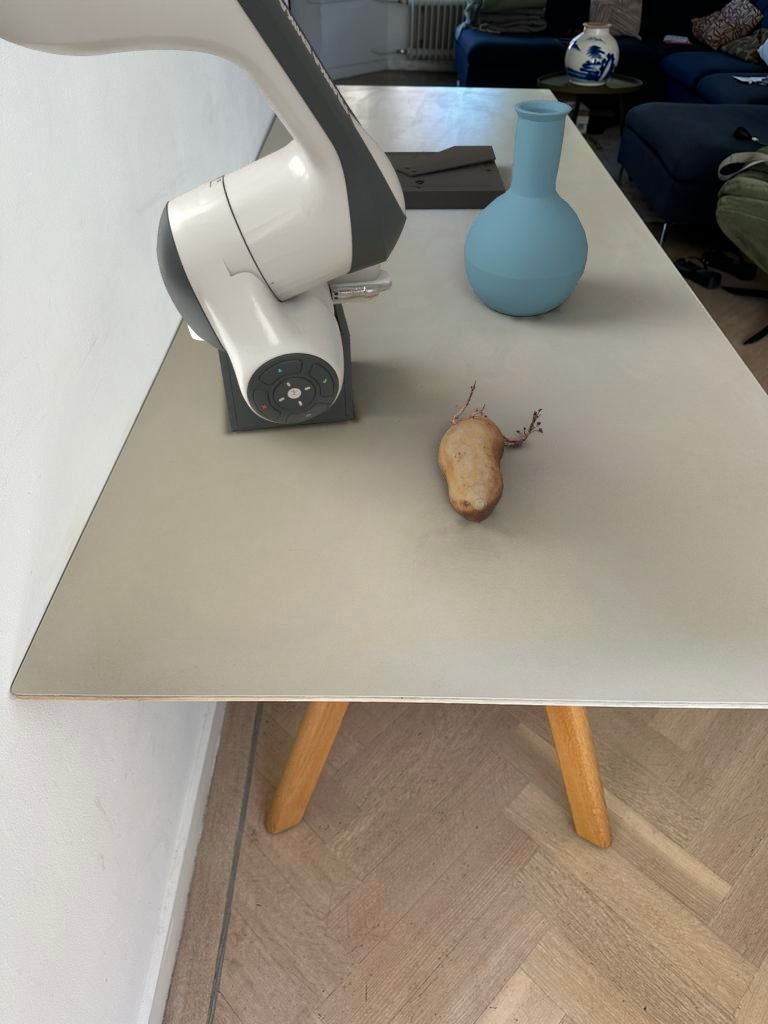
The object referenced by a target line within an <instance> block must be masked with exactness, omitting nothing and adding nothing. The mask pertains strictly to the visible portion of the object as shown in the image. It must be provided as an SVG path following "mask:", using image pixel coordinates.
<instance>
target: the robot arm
mask: <svg viewBox="0 0 768 1024" xmlns="http://www.w3.org/2000/svg"><path fill="white" fill-rule="evenodd" d="M0 39H1V40H4V41H6V42H8V43H12V44H14V45H16V46H20V47H23V48H26V49H29V50H33V51H37V52H41V53H46V54H51V55H57V56H58V55H59V56H71V57H94V56H95V57H96V56H103V55H104V56H105V55H111V54H120V53H129V52H130V53H131V52H141V51H142V52H143V51H185V52H195V53H196V52H197V53H203V54H209V55H213V56H216V57H219V58H221V59H224V60H226V61H228V62H230V63H231V64H234V65H235V66H237V67H238V68H239V69H241V70H242V72H243V73H244V74H246V76H247V77H248V78H249V79H250V81H251V82H252V84H253V85H254V86H255V88H256V89H257V90H258V91H259V93H260V95H261V96H262V97H263V99H264V100H265V101H266V102H267V104H268V105H269V107H270V108H271V109H272V111H273V112H274V114H275V115H276V117H277V118H278V119H279V121H280V122H281V123H282V125H283V126H284V128H285V130H286V131H287V132H288V134H290V136H291V137H292V140H291V141H290V142H289V143H288V144H286V145H284V146H283V147H282V148H280V149H278V150H275V151H274V152H273V151H272V152H271V153H269V154H267V155H265V156H263V157H260V158H259V159H256V160H254V161H253V162H250V163H247V164H246V165H243V166H242V167H240V168H237V169H236V170H233V171H231V172H229V173H227V174H222V175H220V176H217V177H216V178H213V179H211V180H209V181H207V182H205V183H203V184H201V185H199V186H196V187H195V188H193V189H191V190H189V191H186V192H185V193H183V194H181V195H179V196H177V197H175V198H173V199H172V200H168V201H167V202H166V203H165V205H164V207H163V209H162V211H161V214H160V218H159V221H158V228H157V236H156V248H155V249H156V258H157V264H158V269H159V273H160V277H161V279H162V282H163V285H164V287H165V289H166V293H167V294H168V296H169V298H170V299H171V302H172V303H173V305H174V307H175V309H176V311H177V312H178V313H179V315H180V317H181V318H182V319H183V320H184V323H186V325H187V328H188V330H189V333H190V336H191V338H192V339H194V340H196V341H201V342H205V343H207V344H209V345H210V346H212V347H213V348H215V349H216V350H218V349H219V350H221V351H223V352H226V353H227V352H228V355H229V357H230V359H231V362H232V365H233V368H234V370H235V373H236V377H237V380H238V383H239V387H240V390H241V392H242V395H243V397H244V399H245V401H246V402H247V404H248V405H249V407H250V408H251V409H252V411H253V412H255V413H256V414H257V415H258V416H260V417H262V418H264V419H266V420H268V421H271V422H276V423H283V424H293V423H299V422H303V421H306V420H309V419H311V418H314V417H316V416H318V415H320V414H322V413H323V412H325V411H326V410H328V409H329V408H330V407H331V406H332V404H333V403H334V402H335V400H336V399H337V397H338V395H339V393H340V391H341V388H342V384H343V376H344V357H343V347H342V340H341V335H340V331H339V326H338V324H337V321H336V318H335V316H334V307H333V304H341V303H342V304H351V303H352V304H353V303H363V302H370V301H372V300H374V299H375V298H377V297H378V296H379V295H380V293H383V292H386V291H390V290H391V288H392V286H393V282H392V279H391V276H390V274H389V272H387V271H386V270H384V269H382V268H381V264H382V263H385V262H387V260H388V259H389V258H390V255H391V254H392V252H393V251H394V249H395V248H396V245H397V243H398V241H399V239H400V237H401V235H402V232H403V231H404V228H405V226H406V222H407V215H406V209H405V201H404V196H403V192H402V188H401V185H400V182H399V180H398V177H397V175H396V172H395V170H394V168H393V166H392V164H391V163H390V161H389V159H388V157H387V156H386V154H385V153H384V152H385V150H383V149H382V147H381V146H380V145H379V144H378V142H377V141H376V140H375V138H373V137H372V136H371V134H370V133H369V132H368V131H367V130H366V129H365V128H364V127H363V125H362V124H361V122H360V121H359V119H358V118H357V116H356V115H355V113H354V112H353V110H352V109H351V107H350V105H349V104H348V102H347V101H346V99H345V98H344V96H343V95H342V92H341V91H340V90H339V88H338V86H337V85H336V84H335V82H334V80H333V77H331V75H330V73H329V72H328V70H327V68H326V66H325V65H324V63H323V62H322V60H321V58H320V57H319V55H318V53H317V52H316V50H315V48H314V47H313V45H312V44H311V42H310V40H309V38H308V37H307V35H306V34H305V32H304V30H303V29H302V27H301V26H300V24H299V22H298V21H297V19H296V17H295V15H294V14H293V12H292V10H291V9H290V8H289V6H288V4H287V2H286V1H285V0H0Z"/></svg>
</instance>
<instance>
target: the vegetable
mask: <svg viewBox="0 0 768 1024" xmlns="http://www.w3.org/2000/svg"><path fill="white" fill-rule="evenodd" d="M476 383H477V380H475V381H474V384H473V385H470V389H471V390H470V393H469V395H468V397H467V400H466V402H465V404H464V406H463V407H461V406H459V405H455V407H456V408H459V412H458V413H456V414H454V415H453V416H452V417H451V418H450V422H451V423H452V425H451V427H449V428H448V430H447V431H446V432H445V434H444V435H443V437H442V439H441V440H440V443H439V447H438V451H437V452H438V453H437V461H438V465H439V466H438V467H439V469H440V471H441V473H442V475H443V476H444V479H445V480H446V483H447V489H448V498H449V501H450V504H451V505H452V507H453V509H454V510H455V511H457V513H458V514H459V515H461V516H462V517H463V518H465V519H467V520H469V521H471V522H475V523H476V522H477V523H481V522H482V521H485V520H486V519H488V518H489V517H490V516H491V514H492V513H493V511H494V509H495V508H496V506H497V505H498V504H499V502H500V501H501V499H502V497H503V493H504V492H503V491H504V488H505V487H504V479H503V474H502V469H501V460H502V459H503V456H504V454H505V448H506V447H510V448H511V447H512V448H514V447H519V446H521V445H522V444H523V443H525V442H526V441H527V439H528V437H529V435H531V434H532V433H534V432H539V433H541V434H544V430H543V428H542V427H539V426H540V425H542V422H541V421H537V420H538V418H539V417H540V416H542V413H541V414H539V413H540V412H542V410H543V408H538V409H537V411H536V410H534V411H533V414H532V421H531V423H530V424H529V427H528V429H527V428H526V427H525V426H523V433H521V431H520V430H519V429H518V430H515V432H516V433H517V434H519V435H520V436H521V438H519V439H513V438H509V437H507V436H506V435H504V434H503V432H502V430H501V428H500V427H499V426H498V424H496V423H495V422H494V421H492V420H491V419H489V418H488V415H486V414H485V413H483V411H484V409H485V406H486V403H484V404H483V406H482V408H481V409H478V408H479V407H477V408H476V410H475V411H474V412H473V413H471V414H470V416H469V417H466V418H463V419H460V420H458V419H459V417H460V416H461V415H462V413H464V411H466V408H467V407H468V406H469V403H470V401H471V398H472V396H473V394H474V392H475V391H474V390H475V389H476V388H477V387H476ZM479 414H480V415H479ZM457 420H458V421H457ZM536 421H537V422H536ZM535 423H536V426H535ZM537 427H539V428H538V429H536V428H537ZM526 430H527V431H526Z"/></svg>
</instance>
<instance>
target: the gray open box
mask: <svg viewBox="0 0 768 1024" xmlns="http://www.w3.org/2000/svg"><path fill="white" fill-rule="evenodd" d="M333 307H334V316H335V318H336V321H337V324H338V326H339V331H340V335H341V340H342V347H343V357H344V376H343V384H342V388H341V391H340V393H339V395H338V397H337V399H336V400H335V402H334V403H333V404H332V406H331V407H330V408H329V409H328V410H326V411H325V412H323V413H322V414H320V415H318V416H316V417H314V418H311V419H309V420H306V421H303V422H299V423H293V424H283V423H276V422H271V421H268V420H266V419H264V418H262V417H260V416H258V415H257V414H256V413H255V412H253V411H252V409H251V408H250V407H249V405H248V404H247V402H246V401H245V399H244V397H243V395H242V392H241V390H240V387H239V383H238V380H237V377H236V373H235V370H234V368H233V365H232V362H231V359H230V357H229V355H228V352H227V353H226V352H223V351H221V350H219V349H217V353H218V360H219V366H220V372H221V377H222V383H223V391H224V395H225V401H226V402H225V403H226V407H227V415H228V420H229V424H230V431H231V432H235V431H236V432H237V431H246V430H248V431H249V430H256V429H268V428H277V427H278V428H279V427H288V426H290V427H291V426H297V425H298V426H299V425H309V424H310V425H311V424H319V423H331V422H341V421H351V420H352V421H353V420H354V410H353V409H354V407H353V406H354V405H353V379H352V377H353V375H352V355H351V354H352V352H351V333H350V330H349V325H348V322H347V318H346V314H345V311H344V307H343V303H341V304H333Z"/></svg>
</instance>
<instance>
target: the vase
mask: <svg viewBox="0 0 768 1024" xmlns="http://www.w3.org/2000/svg"><path fill="white" fill-rule="evenodd" d="M513 109H514V111H515V113H516V115H517V116H516V122H515V123H516V124H515V130H514V131H515V132H514V143H513V156H512V169H511V172H512V173H511V181H510V184H509V188H508V189H507V190H506V192H505V193H504V194H502V195H500V196H499V197H497V198H496V199H495V200H494V201H493V202H491V203H490V204H489V205H488V206H487V207H486V208H483V209H482V211H480V212H479V214H478V215H477V216H476V218H475V219H474V221H472V223H471V225H470V227H469V230H468V232H467V234H466V236H465V243H464V248H463V252H464V253H463V254H464V258H463V259H464V269H465V273H466V276H467V281H468V282H469V285H470V287H471V288H472V290H473V292H474V294H475V295H476V297H477V298H478V299H479V300H480V301H482V302H483V303H484V304H485V305H486V306H488V307H489V308H490V309H491V310H493V311H496V312H499V313H501V314H504V315H508V316H512V317H532V316H538V315H543V314H545V313H548V312H549V311H551V310H553V309H555V308H557V307H559V306H561V305H562V304H563V303H564V302H565V301H566V300H567V298H569V296H570V295H571V294H572V293H573V290H574V289H576V286H577V285H578V283H579V281H580V280H581V278H582V276H583V275H584V273H585V269H586V266H587V261H588V254H589V245H588V238H587V234H586V231H585V228H584V226H583V224H582V221H581V219H580V218H579V216H578V214H577V212H576V211H575V210H574V209H573V207H572V206H571V205H570V203H568V202H567V201H566V200H565V199H564V198H562V197H561V196H560V194H559V193H558V192H557V184H556V183H557V178H558V175H559V168H560V162H561V157H562V150H563V143H564V137H565V129H566V121H567V120H566V119H567V116H568V115H569V114H570V113H571V111H572V110H573V108H572V107H571V106H570V104H567V103H565V102H562V101H556V100H549V99H531V100H523V101H519V102H517V103H515V104H514V105H513Z"/></svg>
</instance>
